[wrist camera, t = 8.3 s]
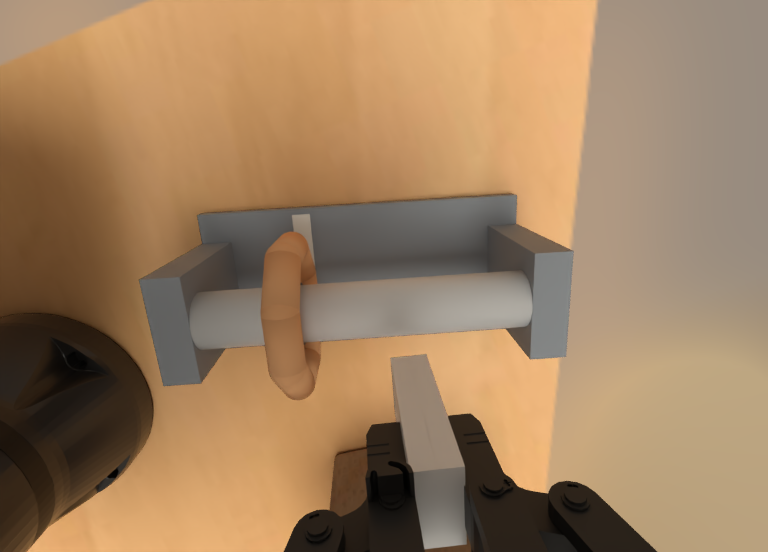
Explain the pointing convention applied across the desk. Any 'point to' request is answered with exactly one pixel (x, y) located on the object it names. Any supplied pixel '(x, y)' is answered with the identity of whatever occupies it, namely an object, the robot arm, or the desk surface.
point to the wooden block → (361, 489)
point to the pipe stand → (364, 279)
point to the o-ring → (288, 316)
